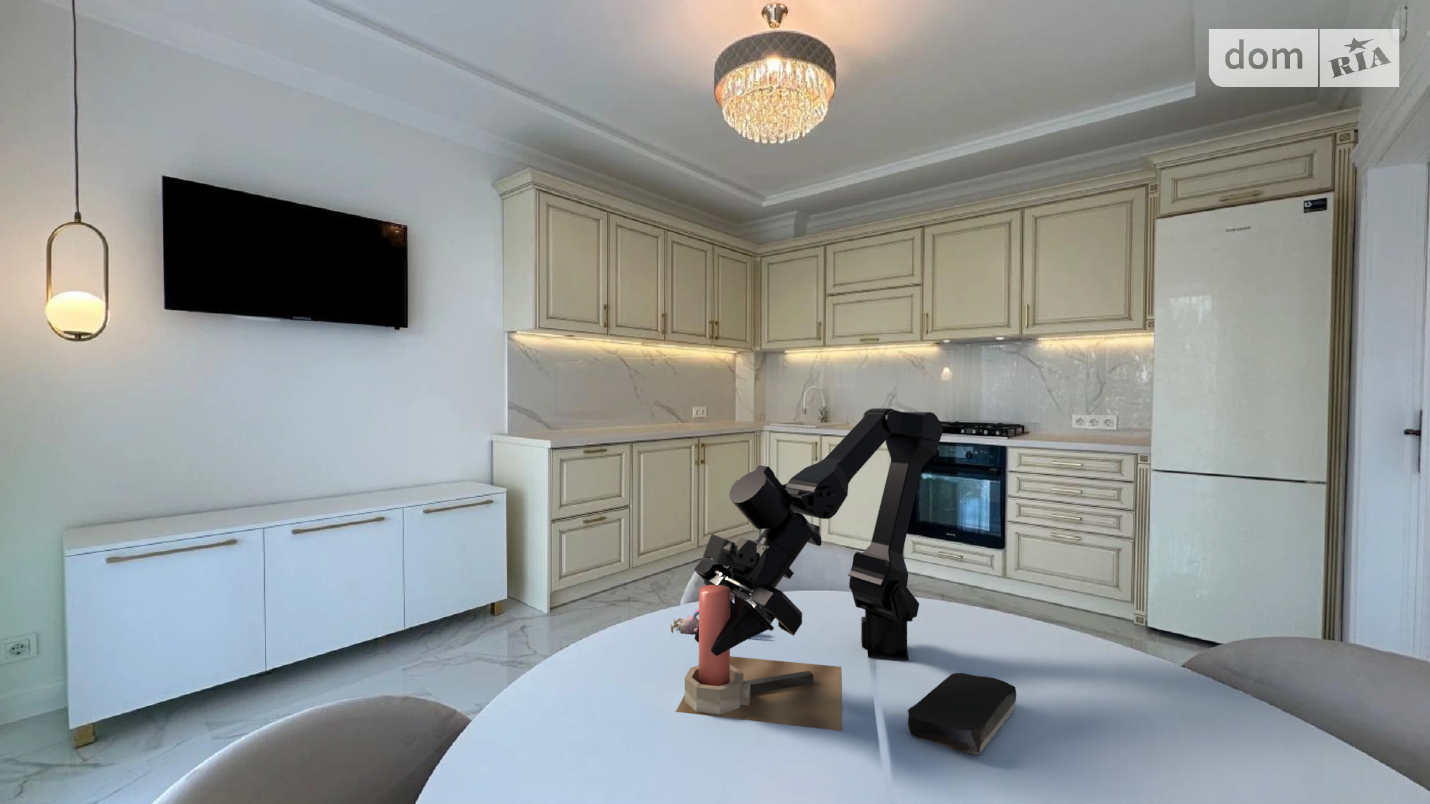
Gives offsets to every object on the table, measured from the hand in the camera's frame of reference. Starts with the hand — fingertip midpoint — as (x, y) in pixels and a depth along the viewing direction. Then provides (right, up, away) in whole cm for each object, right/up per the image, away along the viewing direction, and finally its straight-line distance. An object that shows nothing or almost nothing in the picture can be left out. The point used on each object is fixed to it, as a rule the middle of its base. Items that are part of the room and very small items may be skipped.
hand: (705, 647), depth 74 cm
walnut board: (+8, -8, +4) cm, 12 cm away
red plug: (+1, -7, +1) cm, 7 cm away
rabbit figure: (+1, -9, +25) cm, 27 cm away
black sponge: (+32, -9, -3) cm, 33 cm away
